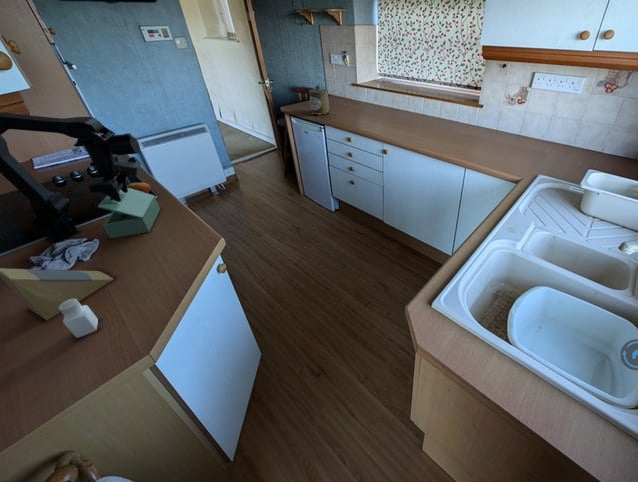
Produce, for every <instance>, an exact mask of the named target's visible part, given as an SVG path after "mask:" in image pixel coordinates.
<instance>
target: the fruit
mask: <svg viewBox="0 0 638 482" xmlns="http://www.w3.org/2000/svg"><path fill="white" fill-rule="evenodd" d="M127 187H128V188H130V189H134V190H137V191H141V192H144V193H147V194H150V190H151V185H150V184H149V183H146V182H131V183H130V184H127Z"/></svg>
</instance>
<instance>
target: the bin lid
mask: <svg viewBox="0 0 638 482" xmlns="http://www.w3.org/2000/svg"><path fill="white" fill-rule="evenodd" d="M118 184H120V186H119V187H118V191H119V194H120V197H121V202H117V201H115V200H113V199H112V198H110V197H109V196H107V195H105V197H104V198H103V199H102V201H100V203H99V204H98V206H97V208H99V209H103V210H107V211H110V212H113V211H114V212H118V213H122V214H126V215H130V216H134V217H138V218H143V216H144V214H145V212H146V211H147V209H148V207H149V205H150V204H151V202H152V200H153V198H154V197H155V195H154V194H150V193H149V194H147V193H144V192H141V191H137V190H134V189H130V188H128V192H127V193H124V192H123V191H122V190H121V188H122V187H123V186H124V184H123V183H122V182H119V183H118Z"/></svg>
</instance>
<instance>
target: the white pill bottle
mask: <svg viewBox="0 0 638 482" xmlns="http://www.w3.org/2000/svg"><path fill="white" fill-rule="evenodd" d="M58 308H59V310H60V311H61V312H60V314H62V315H63V318H62V319H63V320H62V323H63V325H65V327H67V329H68V330H69V331H70V333H72V335H73V336H74V337H75V338H76V339H78V338H81V337H84V336H86V335H90V334H92V333H95V332H96V331H97V330H98V325H99V324H98V323H99V319H98V317H97V316H96V315H95V314H94V312H93V310H92V309H91V308H90V307H89V305H87V304H83V305H82V304H81V303H80V301H78V300H77V299H69V300H67V301H64V302H63V303H62V304H60V306H59V307H58Z"/></svg>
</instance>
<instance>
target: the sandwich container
mask: <svg viewBox="0 0 638 482" xmlns="http://www.w3.org/2000/svg"><path fill="white" fill-rule="evenodd" d="M0 278H1V279H2V280H3V282H5V283H6V284H7V286H9V288H10V289H11V290H12V291H13V292H14V293H15V294H16V296H18V297H19V298H20V300H22V302H23V303H24V304H25V305H26V306H27V307H28V308H29V309H30V310H31V311H32V312H34V313H35V314H36V315H38V316H39V317H41V318H42V319H44V320H45V321H49V320H50V319H52V318H54V317H55V316H57V315H59V314H61V311H60V310H59V308H58V307H59V306H60V304H62V303H63V302H64V301H67V300H69V299H77V300H78V302H81V301H82V300H83V299H85V298H86V297H88V296H90V295H92V294H93V293H94V292H96V291H98V290H100V289H101V288H102V287H104V286H106V285H108V284H109V283H111V282H112V281H114V278H113V277H112V276H110V275H108V274H106V273H104V272H102V271H100V270H69V269H68V270H67V269H63V270H62V269H31V268H29V269H28V268H4V267H3V268H1V267H0Z"/></svg>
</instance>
